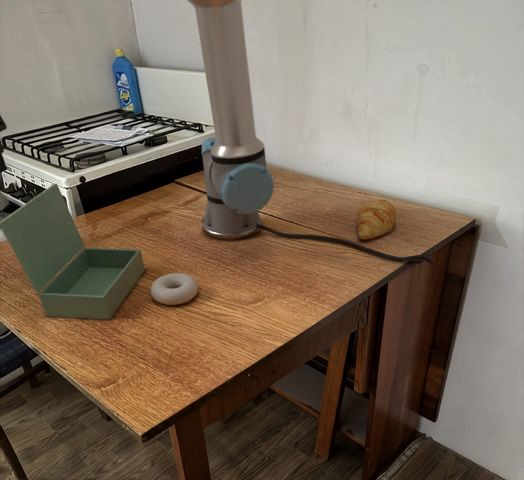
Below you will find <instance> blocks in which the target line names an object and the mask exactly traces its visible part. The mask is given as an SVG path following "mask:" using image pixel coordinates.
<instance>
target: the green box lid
mask: <svg viewBox="0 0 524 480" xmlns="http://www.w3.org/2000/svg"><path fill="white" fill-rule="evenodd" d="M0 229H1V231H2V233H3V235H4V237H5V238H6V240H7V242H8V244H9V246H10V248H11V249H12V252H13V253H14V255H15V257H16V258H17V260H18V262H19V264H20V265H21V268H22V270H23V271H24V273H25V275H26V277H27V278H28V280H29V282H30V284H31V286H32V288H33V290H34V291H35V293H40V292H41V291H42V290H43V289H44V288H45V287H46V286H47V285H48V284H49V283H50V282H51V281H52V280H53V279H54V278H55V277H56V276H57V275H58V274H59V273H60V272H61V271H62V270H63V269H64V268H65V267H66V266H67V265H68V264H69V263H70V262H71V261H72V260H73V259H74V258H75V257H76V256H77V255H78V254H79V253H80V252H81V251H82V250H83V248H85V247H86V245H85V242H84V240H83V238H82V236H81V234H80V231H79V229H78V227H77V225H76V223H75V221H74V219H73V216H72V214H71V212H70V210H69V207H68V205H67V203H66V201H65V198H64V196H63V194H62V192H61V190H60V188H59V185H58V183H53V184H52V185H50V186H48V187H47V188H46V189H45V190H43V191H42V192H40V193H38V194H37V195H36V196H35V197H33V198H31V199H30V200H29V201H27V202H26V203H25V204H23V205H22V206H20V207H19V208H17V209H16V210H15V211H13V212H12V213H10V214H9V215H8V216H6V217H5V218H3V219H2V220H1V221H0Z"/></svg>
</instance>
